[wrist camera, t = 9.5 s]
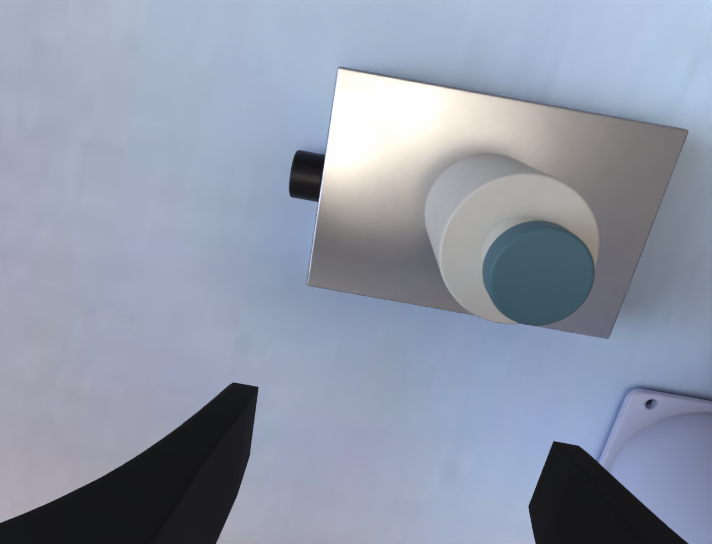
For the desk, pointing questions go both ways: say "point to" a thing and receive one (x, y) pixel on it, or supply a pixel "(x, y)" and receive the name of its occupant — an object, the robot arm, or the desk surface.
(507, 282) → the bottle
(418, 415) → the desk surface
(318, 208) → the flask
